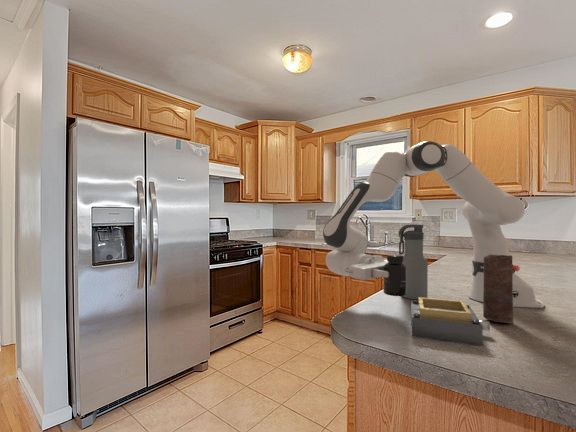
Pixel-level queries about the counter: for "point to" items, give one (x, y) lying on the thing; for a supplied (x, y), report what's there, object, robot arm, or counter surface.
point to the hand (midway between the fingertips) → (397, 272)
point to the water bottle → (414, 261)
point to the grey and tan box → (446, 321)
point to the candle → (498, 288)
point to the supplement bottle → (395, 276)
